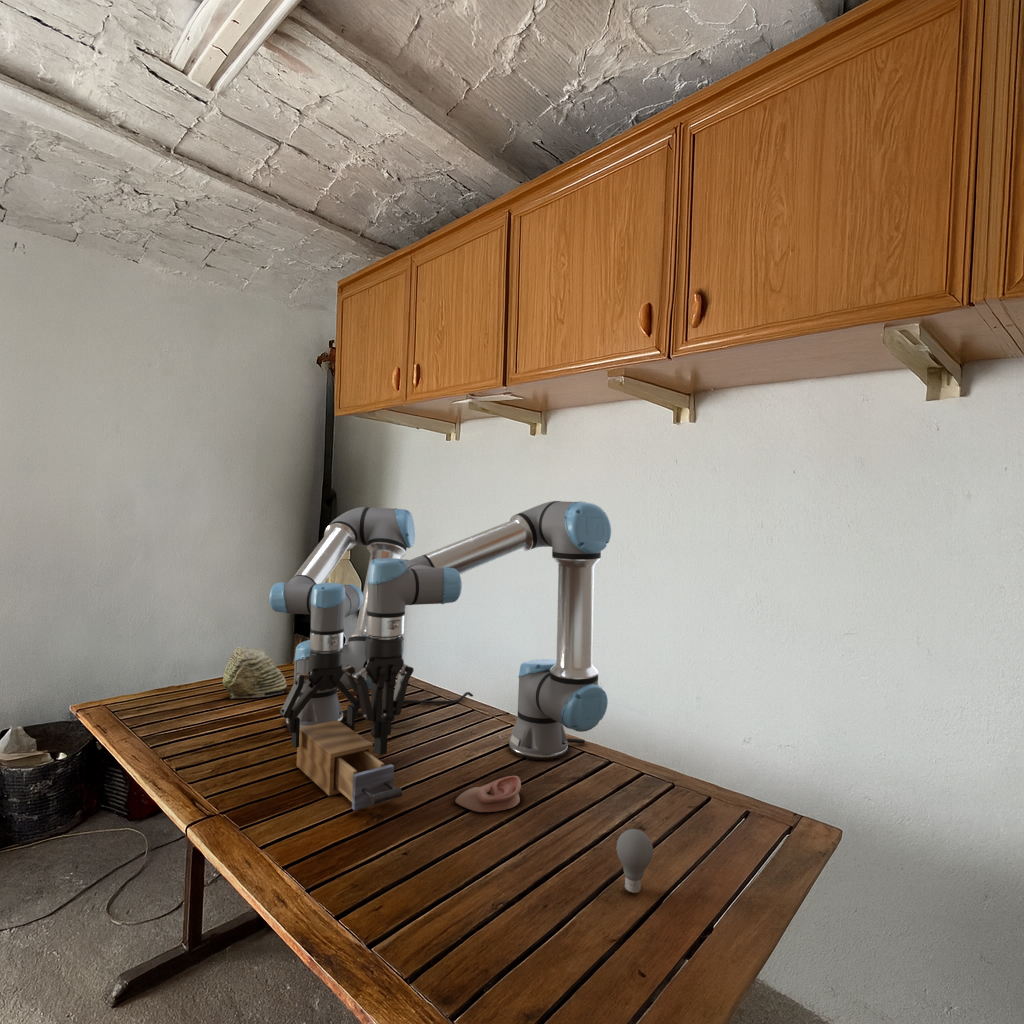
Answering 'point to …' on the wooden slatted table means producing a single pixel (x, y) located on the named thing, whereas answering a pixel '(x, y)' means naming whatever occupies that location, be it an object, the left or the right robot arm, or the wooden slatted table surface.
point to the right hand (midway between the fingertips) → (380, 752)
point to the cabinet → (327, 751)
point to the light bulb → (634, 857)
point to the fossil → (252, 674)
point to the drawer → (364, 779)
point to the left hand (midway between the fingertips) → (323, 739)
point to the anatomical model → (492, 795)
